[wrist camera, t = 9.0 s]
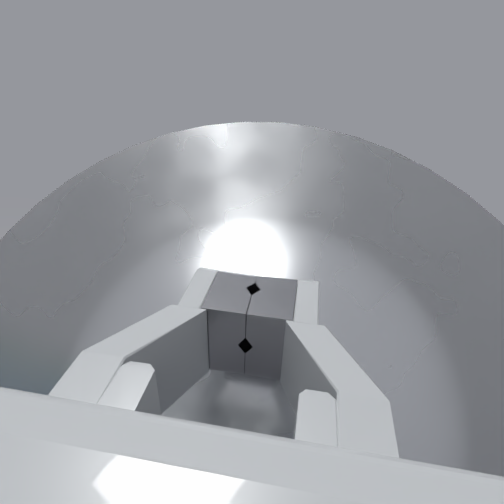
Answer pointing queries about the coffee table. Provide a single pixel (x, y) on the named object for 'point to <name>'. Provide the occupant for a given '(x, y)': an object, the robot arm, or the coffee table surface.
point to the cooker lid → (275, 274)
